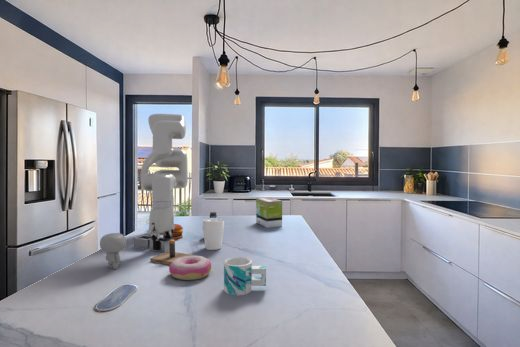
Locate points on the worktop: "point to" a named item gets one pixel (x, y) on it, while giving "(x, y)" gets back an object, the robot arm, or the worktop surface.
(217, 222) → the cup
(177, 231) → the hamburger
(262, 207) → the tea box
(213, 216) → the perfume bottle
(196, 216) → the worktop surface
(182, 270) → the donut
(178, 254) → the keeper
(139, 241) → the grey hollow block
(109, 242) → the figurine
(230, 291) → the mug
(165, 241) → the link
